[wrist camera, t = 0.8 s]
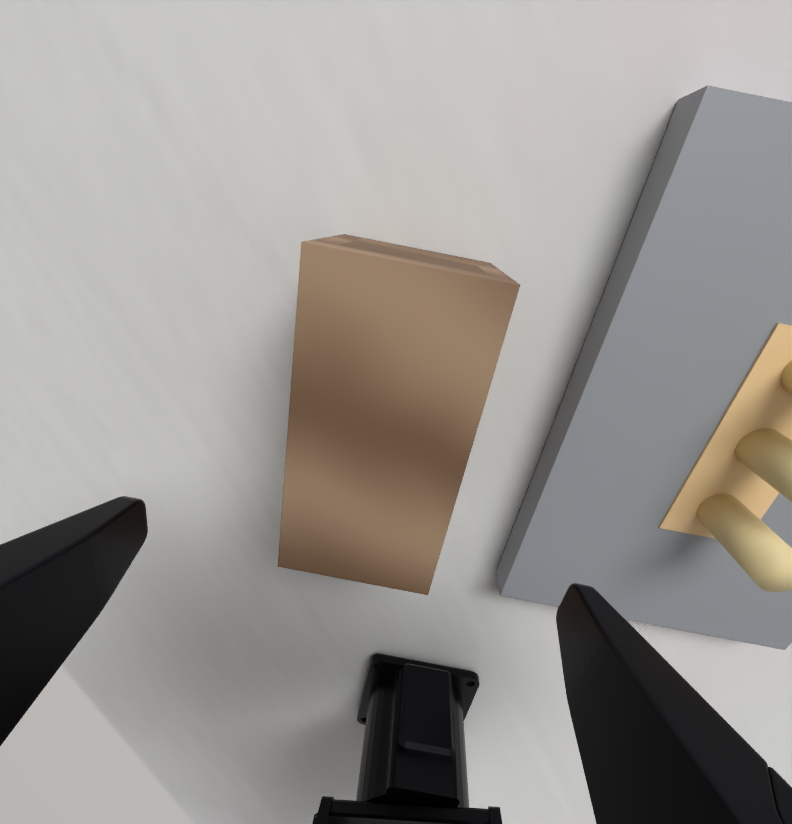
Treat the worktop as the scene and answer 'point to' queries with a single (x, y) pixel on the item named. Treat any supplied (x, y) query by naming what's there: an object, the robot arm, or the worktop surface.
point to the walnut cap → (384, 405)
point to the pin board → (682, 397)
